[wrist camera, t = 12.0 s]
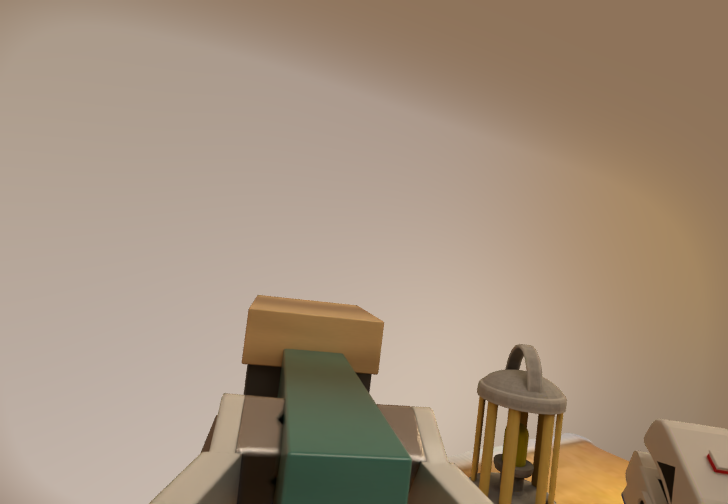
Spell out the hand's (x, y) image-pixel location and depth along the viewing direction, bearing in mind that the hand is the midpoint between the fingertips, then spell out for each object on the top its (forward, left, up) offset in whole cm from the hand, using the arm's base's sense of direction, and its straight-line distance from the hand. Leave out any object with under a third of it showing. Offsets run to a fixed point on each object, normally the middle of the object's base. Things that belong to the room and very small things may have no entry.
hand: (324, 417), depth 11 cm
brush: (0, +4, -2) cm, 4 cm away
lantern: (+38, +55, -30) cm, 73 cm away
